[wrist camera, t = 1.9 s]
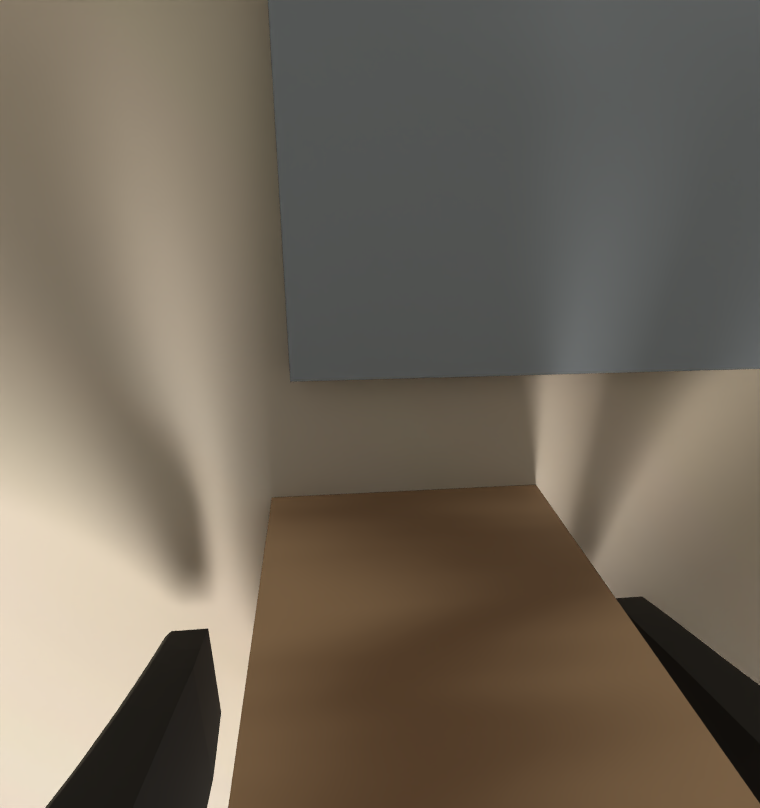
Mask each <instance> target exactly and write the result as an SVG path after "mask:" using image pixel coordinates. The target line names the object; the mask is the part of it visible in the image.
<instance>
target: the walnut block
mask: <svg viewBox="0 0 760 808" xmlns="http://www.w3.org/2000/svg"><path fill="white" fill-rule="evenodd" d="M228 808H760V803H759V802H758V800H757V799H756V798H755V796H754V795H753V793H752V792H751V790H750V789H749V788H748V786H747V785H746V783H745V782H744V780H743V779H742V778H741V776H740V775H739V773H738V772H737V771H736V769H735V768H734V766H733V765H732V763H731V762H730V761H729V759H728V758H727V756H726V755H725V753H724V752H723V751H722V749H721V748H720V746H719V745H718V743H717V742H716V741H715V739H714V738H713V736H712V735H711V733H710V732H709V731H708V729H707V728H706V726H705V725H704V724H703V722H702V721H701V719H700V718H699V716H698V715H697V714H696V712H695V711H694V709H693V708H692V706H691V705H690V704H689V702H688V701H687V699H686V698H685V696H684V695H683V694H682V692H681V691H680V689H679V688H678V686H677V685H676V684H675V682H674V681H673V679H672V678H671V676H670V675H669V674H668V672H667V671H666V669H665V668H664V667H663V665H662V664H661V662H660V661H659V659H658V658H657V657H656V655H655V654H654V652H653V651H652V649H651V648H650V647H649V645H648V644H647V642H646V641H645V639H644V638H643V637H642V635H641V634H640V632H639V631H638V629H637V628H636V627H635V625H634V624H633V622H632V621H631V620H630V618H629V617H628V615H627V614H626V612H625V611H624V610H623V608H622V607H621V605H620V604H619V602H618V601H617V600H616V598H615V597H614V595H613V594H612V592H611V591H610V590H609V588H608V587H607V585H606V584H605V582H604V581H603V580H602V578H601V577H600V575H599V574H598V573H597V571H596V570H595V568H594V567H593V565H592V564H591V563H590V561H589V560H588V558H587V557H586V555H585V554H584V553H583V551H582V550H581V548H580V547H579V545H578V544H577V543H576V541H575V540H574V538H573V537H572V535H571V534H570V533H569V531H568V530H567V528H566V527H565V526H564V524H563V523H562V521H561V520H560V518H559V517H558V516H557V514H556V513H555V511H554V510H553V508H552V507H551V506H550V504H549V503H548V501H547V500H546V498H545V497H544V496H543V494H542V493H541V491H540V490H539V488H538V487H537V486H536V485H519V486H499V487H478V488H458V489H438V490H417V491H397V492H376V493H356V494H335V495H315V496H295V497H274V498H272V500H271V508H270V515H269V522H268V529H267V536H266V543H265V550H264V557H263V564H262V572H261V579H260V586H259V593H258V600H257V607H256V614H255V621H254V628H253V635H252V643H251V650H250V657H249V664H248V671H247V678H246V685H245V692H244V699H243V706H242V714H241V721H240V728H239V735H238V742H237V749H236V756H235V763H234V770H233V777H232V785H231V792H230V799H229V806H228Z"/></svg>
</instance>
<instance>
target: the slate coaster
mask: <svg viewBox="0 0 760 808" xmlns="http://www.w3.org/2000/svg"><path fill="white" fill-rule="evenodd" d="M268 10H269V27H270V44H271V61H272V78H273V95H274V112H275V129H276V146H277V163H278V180H279V197H280V214H281V231H282V248H283V265H284V282H285V299H286V316H287V333H288V350H289V367H290V382H291V381H327V380H364V379H401V378H438V377H474V376H511V375H548V374H585V373H621V372H658V371H695V370H732V369H760V0H268Z"/></svg>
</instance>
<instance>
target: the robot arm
mask: <svg viewBox="0 0 760 808" xmlns="http://www.w3.org/2000/svg"><path fill="white" fill-rule="evenodd" d="M616 600H617V601H618V602H619V604H620V605H621V607H622V608H623V610H624V611H625V612H626V614H627V615H628V617H629V618H630V620H631V621H632V622H633V624H634V625H635V627H636V628H637V629H638V631H639V632H640V634H641V635H642V637H643V638H644V639H645V641H646V642H647V644H648V645H649V647H650V648H651V649H652V651H653V652H654V654H655V655H656V657H657V658H658V659H659V661H660V662H661V664H662V665H663V667H664V668H665V669H666V671H667V672H668V674H669V675H670V676H671V678H672V679H673V681H674V682H675V684H676V685H677V686H678V688H679V689H680V691H681V692H682V694H683V695H684V696H685V698H686V699H687V701H688V702H689V704H690V705H691V706H692V708H693V709H694V711H695V712H696V714H697V715H698V716H699V718H700V719H701V721H702V722H703V724H704V725H705V726H706V728H707V729H708V731H709V732H710V733H711V735H712V736H713V738H714V739H715V741H716V742H717V743H718V745H719V746H720V748H721V749H722V751H723V752H724V753H725V755H726V756H727V758H728V759H729V761H730V762H731V763H732V765H733V766H734V768H735V769H736V771H737V772H738V773H739V775H740V776H741V778H742V779H743V780H744V782H745V783H746V785H747V786H748V788H749V789H750V790H751V792H752V793H753V795H754V796H755V798H756V799H757V800H758V802H759V803H760V685H758V684H757V683H756V682H754V681H753V680H751V679H750V678H749V677H747V676H746V675H745V674H743V673H742V672H741V671H739V670H738V669H737V668H736V667H734V666H733V665H732V664H730V663H729V662H728V661H726V660H725V659H724V658H722V657H721V656H720V655H718V654H717V653H716V652H715V651H713V650H712V649H711V648H709V647H708V646H707V645H705V644H704V643H703V642H702V641H700V640H699V639H698V638H696V637H695V636H694V635H692V634H691V633H690V632H689V631H687V630H686V629H685V628H683V627H682V626H681V625H679V624H678V623H677V622H676V621H674V620H673V619H672V618H670V617H669V616H668V615H666V614H665V613H664V612H662V611H661V610H660V609H658V608H657V607H656V606H654V605H653V604H652V603H650V602H649V601H647V600H646V599H645V598H643V597H630V598H617V599H616ZM220 717H221V709H220V702H219V696H218V689H217V683H216V676H215V670H214V663H213V657H212V650H211V644H210V637H209V631H208V629H197V630H183V631H171V632H170V633H169V634H168V635H167V636H166V637H165V638H164V640H163V641H162V643H161V645H160V646H159V648H158V649H157V651H156V653H155V654H154V656H153V657H152V659H151V660H150V662H149V664H148V665H147V667H146V668H145V670H144V671H143V673H142V674H141V676H140V677H139V679H138V680H137V682H136V683H135V685H134V687H133V688H132V689H131V691H130V692H129V694H128V695H127V697H126V698H125V700H124V701H123V703H122V704H121V706H120V707H119V709H118V710H117V712H116V713H115V714H114V716H113V717H112V719H111V720H110V721H109V723H108V724H107V726H106V727H105V728H104V730H103V731H102V733H101V734H100V735H99V737H98V738H97V740H96V741H95V742H94V744H93V745H92V747H91V748H90V749H89V751H88V752H87V754H86V755H85V756H84V758H83V759H82V761H81V762H80V763H79V765H78V766H77V767H76V769H75V770H74V771H73V773H72V774H71V775H70V777H69V778H68V779H67V781H66V782H65V783H64V784H63V786H62V787H61V788H60V790H59V791H58V792H57V793H56V795H55V796H54V797H53V799H52V800H51V801H50V802H49V804H48V805H47V806H46V808H207V804H208V800H209V795H210V791H211V786H212V781H213V774H214V767H215V759H216V751H217V743H218V734H219V726H220Z"/></svg>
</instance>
